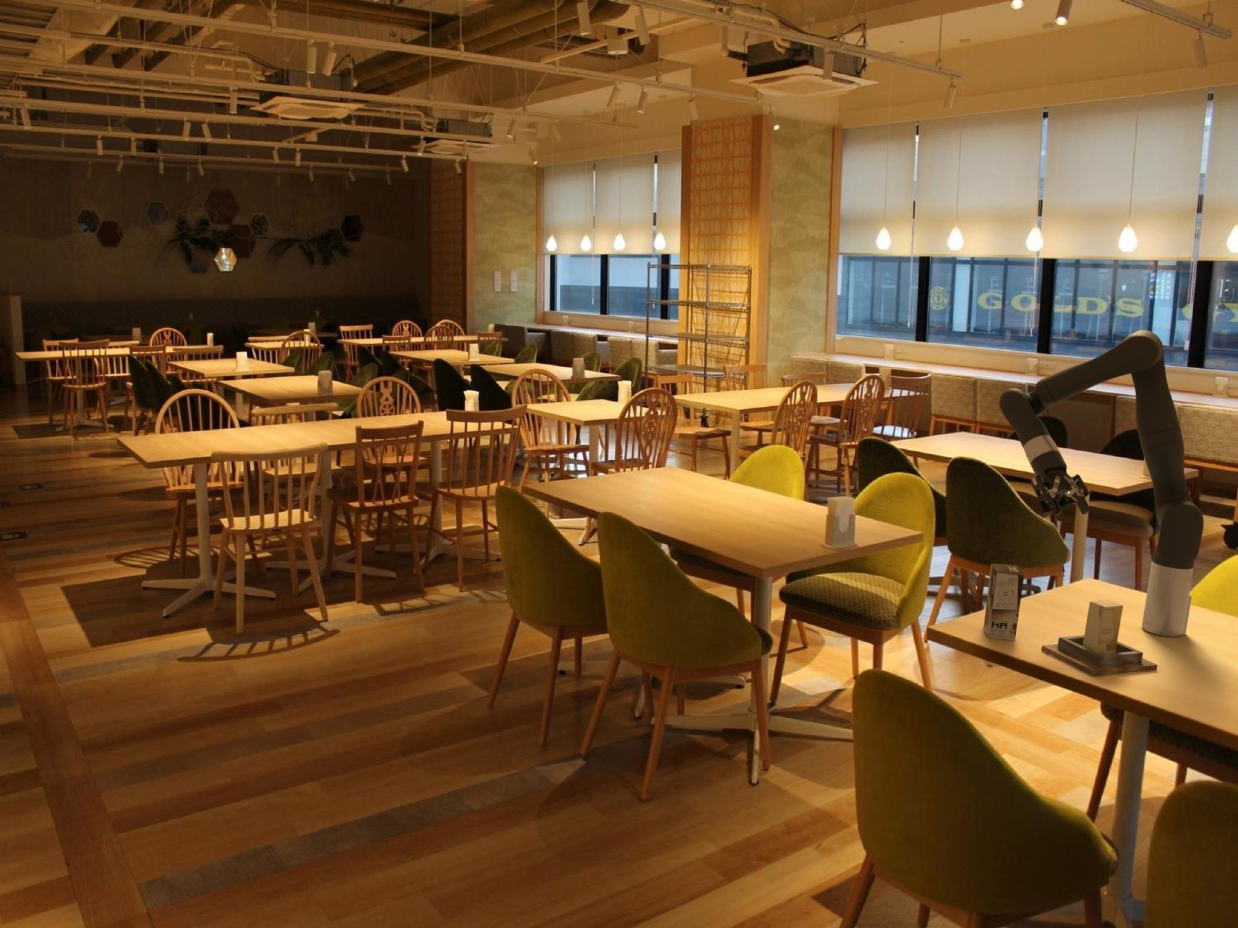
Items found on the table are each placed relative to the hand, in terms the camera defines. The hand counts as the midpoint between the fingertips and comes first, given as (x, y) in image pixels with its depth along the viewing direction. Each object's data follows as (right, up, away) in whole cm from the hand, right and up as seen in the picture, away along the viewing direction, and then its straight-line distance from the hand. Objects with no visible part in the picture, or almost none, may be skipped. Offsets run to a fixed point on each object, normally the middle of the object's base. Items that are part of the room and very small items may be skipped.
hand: (1072, 513), depth 260 cm
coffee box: (-19, -29, -2) cm, 34 cm away
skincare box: (-1, -31, -17) cm, 36 cm away
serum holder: (-1, -32, -17) cm, 36 cm away
